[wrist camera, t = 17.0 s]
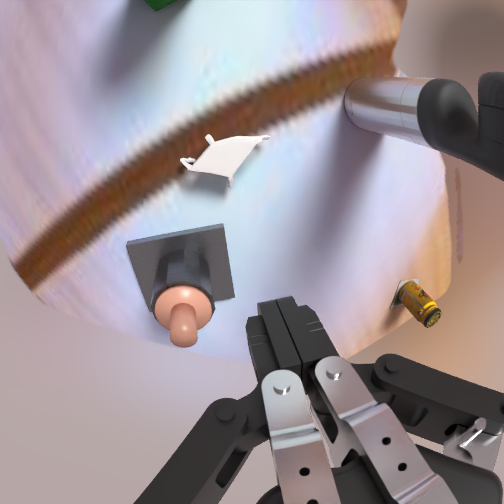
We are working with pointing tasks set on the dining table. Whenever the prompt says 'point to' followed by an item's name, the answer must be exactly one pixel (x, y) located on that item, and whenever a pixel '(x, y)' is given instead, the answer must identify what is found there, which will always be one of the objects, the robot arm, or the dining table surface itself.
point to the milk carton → (158, 3)
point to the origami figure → (224, 155)
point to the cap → (183, 313)
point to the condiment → (416, 302)
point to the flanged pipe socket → (183, 263)
